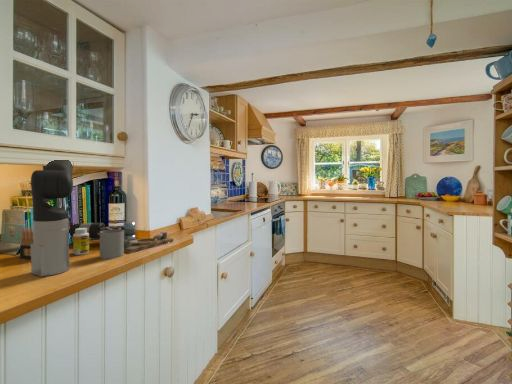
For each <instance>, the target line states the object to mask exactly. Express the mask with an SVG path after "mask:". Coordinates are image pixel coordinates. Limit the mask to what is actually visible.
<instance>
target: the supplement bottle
mask: <svg viewBox="0 0 512 384" xmlns="http://www.w3.org/2000/svg"><path fill="white" fill-rule="evenodd" d="M89 252H90V239H89V233H87V228H77V229H75V234H73V238H72V253H73V255H75V256H79V255H80V256H81V255H86V254H88V253H89Z"/></svg>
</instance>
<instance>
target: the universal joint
mask: <svg viewBox="0 0 512 384" xmlns="http://www.w3.org/2000/svg"><path fill="white" fill-rule="evenodd" d="M123 226H124V240H128V241H135V240H136V221H127V222H126V221H125V222H123Z"/></svg>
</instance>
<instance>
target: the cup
mask: <svg viewBox="0 0 512 384" xmlns="http://www.w3.org/2000/svg"><path fill="white" fill-rule="evenodd" d="M123 256H125V252H124V230H122V229H121V228H119V229H110V230H103V231H100V239H99V258H100V259H103V260H112V259H118V258H121V257H123Z"/></svg>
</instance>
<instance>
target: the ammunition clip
mask: <svg viewBox="0 0 512 384" xmlns="http://www.w3.org/2000/svg"><path fill="white" fill-rule="evenodd" d="M20 238H21V239H20V240H21V244H20V247H19V248H20V249H19V252H20V254H19V255H20V259H22V260H23V259H24V260H31V244H34V235H33V227H31V226H30V228H29V227H26V228H25V226H22V229H21V237H20Z"/></svg>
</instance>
